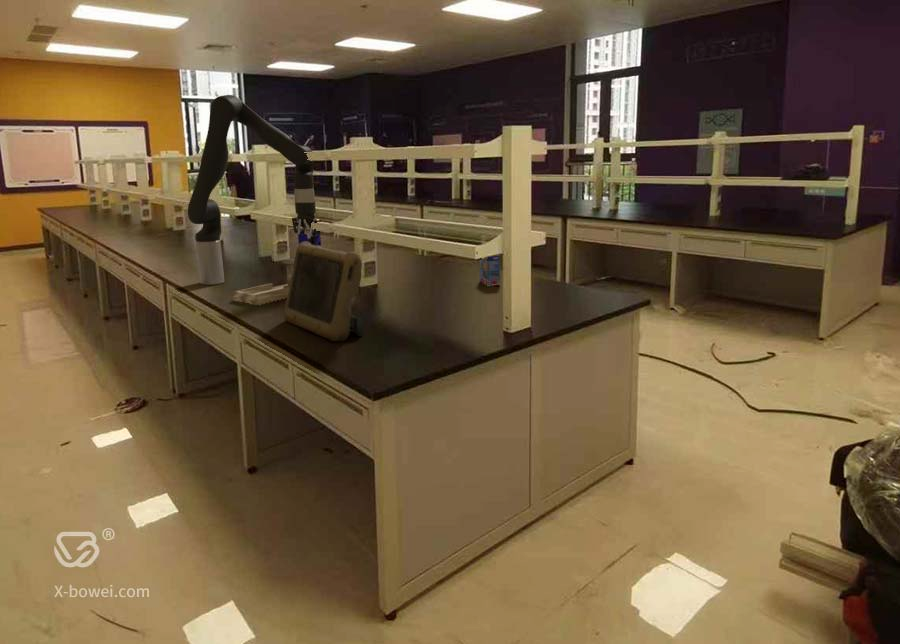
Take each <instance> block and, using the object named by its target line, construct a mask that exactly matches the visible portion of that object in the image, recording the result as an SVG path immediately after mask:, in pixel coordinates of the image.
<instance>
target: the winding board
mask: <svg viewBox="0 0 900 644" xmlns="http://www.w3.org/2000/svg"><path fill="white" fill-rule="evenodd" d="M294 259H295V257H294V258H284V259H281V260H280V261H281V264H285V266H286V276H287V277H286V278H287V283H286V284H281V285H277V286H274V285H273V283H272V282H271V283H266V284H265V283H264V284H261V285H257V286H253V287H249V288H247V287H246V288H244V289H239V290H234V296H232V301H233V302H234V301H235V302H238V301H239V302H238V303H243V302H244V303H243V304H247V303H249V304H248V305H252V304H253V305H252V306H257V305H259V306H263V305H267V304H270V302H271V303H274V302H273V301H275V302H278V301H277V300H279V301H282V300H281V299H283V300H286V299H285V298H287V295H288V291H289V287H290V279H291V276H292V273H293V263H294ZM266 303H267V304H266ZM262 304H263V305H262Z"/></svg>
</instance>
